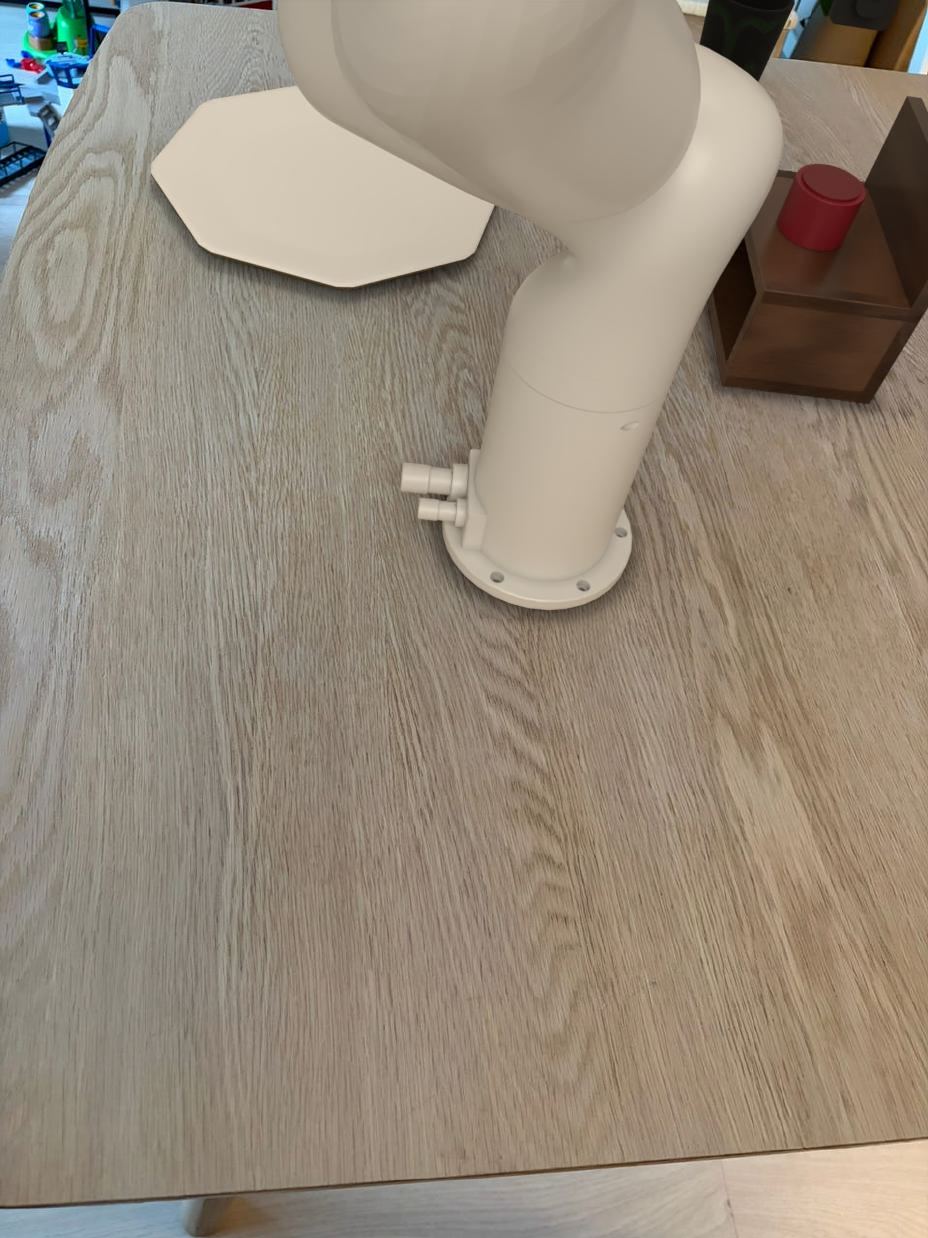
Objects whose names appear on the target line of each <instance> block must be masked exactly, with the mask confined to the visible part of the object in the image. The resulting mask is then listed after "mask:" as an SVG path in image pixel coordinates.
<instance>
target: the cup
mask: <svg viewBox="0 0 928 1238" xmlns="http://www.w3.org/2000/svg"><path fill="white" fill-rule="evenodd" d="M795 4H796V0H708V3H707V7H706V13H705V16H704V21H703V25H702V30H701V35H700V39H699V43H698V44H700V45H702V46H704V47H706V48H709V49H710V50H712V51H714V52H716V53H718V54H719V55H721V56H723V57H725V58H727V59H728V60H730V61H732V62H733V63H734V64H736V65H737V66H739V67H740V68H741V69H743V70H744V71H746V72H747V73H748V74H750V75H751V76H752V77H753V78H754V79H755V80H756V81H757V82H758V83H759V82H760V79H761V78H762V76H763V74H764V71H765V69H766V67H767V65H768V63H769V60H770V59H771V56H772V54H773V52H774V50H775V47H776V46H777V43H778V41H779V39H780V37H781V34H782V32H783V31H784V29H785V28H784V27H786V24H787V22H788V19H789V17H790V15H791V13H792V11H793V9H794V7H795Z"/></svg>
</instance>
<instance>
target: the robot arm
mask: <svg viewBox="0 0 928 1238" xmlns="http://www.w3.org/2000/svg"><path fill="white" fill-rule="evenodd" d="M900 3H901V0H833V1H832V3H831V6H830V9H829V11H828V16H829V19H830V21H831V23H832V24H834V25H839V26H844V27H852V28H858V29H863V30H864V29H866V30H871V31H878V32H883V31H885V30H886V29H887V28H889V26H890V24H891V22H892V20H893V18H894V16H895V13H896V11H897V9H898V6H899V5H900ZM276 8H277V25H278V32H279V38H280V44H281V47H282V52H283V55H284V58H285V62H286V64H287V68H288V70H289V72H290V74H291V77H292V78H293V81H294V83H295V84H296V85H297V86H298V88H299V90H300V91H301V93H302V94H303V96H304V97H305V98H306V100H307V101H308V102H309V103H310V104H311V105H312V107H313V108H314V109H315V110H317V111H318V112H319V113H320V114H321V115H322V116H324V117H325V118H326V119H328V120H329V121H331V122H333V123H334V124H336V125H338V126H340V127H342V128H344V129H345V130H347V131H349V132H351V133H353V134H355V135H357V136H359V137H360V138H362V139H364V140H366V141H368V142H370V143H372V144H374V145H375V146H377V147H379V148H381V149H383V150H385V151H387V152H389V153H390V154H392V155H394V156H396V157H398V158H400V159H402V160H404V161H406V162H408V163H410V164H412V165H413V166H415V167H417V168H419V169H421V170H423V171H425V172H427V173H429V174H430V175H432V176H434V177H436V178H438V179H440V180H442V181H444V182H446V183H448V184H450V185H452V186H454V187H456V188H458V189H460V190H462V191H464V192H466V193H468V194H470V195H472V196H475V197H477V198H479V199H482V200H484V201H486V202H489V203H491V204H494V205H495V207H498V208H501V209H503V210H506V211H508V212H511V213H514V214H515V215H517V216H519V217H520V218H523V219H524V220H527V221H528V222H531V223H532V225H534V227H537V228H539V229H541V230H542V231H545V232H546V233H548V234H550V235H552V236H553V237H555V238H556V239H558V240H559V241H560V243H562V244H564V246H565V248H564V249H562V250H560V251H558V252H557V253H555V254H553V255H552V256H551V257H549V258H548V259H546V260H544V261H543V262H542V263H541V264H540V265H539V266H537V267H536V268H535V269H534V270H533V271H531V273H530V274H529V275H527V276H526V278H525V279H524V280H523V282H522V283H521V285H520V286H519V287H518V289H517V290H516V291H515V294H514V295H513V298H512V301H511V303H510V306H509V309H508V311H507V316H506V321H505V325H504V330H503V336H502V343H501V347H500V353H499V358H498V362H497V367H496V373H495V377H494V382H493V387H492V391H491V397H490V401H489V406H488V411H487V416H486V421H485V426H484V430H483V435H482V439H481V443H480V444H481V445H480V448H478V449H477V448H471V449H470V450H469V454H468V458H467V459H468V460H467V463H457V462H452V464H451V468H448V467H440V466H431V464H427V463H419V462H410V461H403V462H402V469H401V478H400V487H399V488H400V489H399V492H401V493H411V494H422V495H428V494H433V495H435V494H436V495H443V496H447V498H446V500H440V499H436V498H428V497H419V498H418V502H417V514H416V519H417V520H422V521H423V520H425V521H432V522H433V521H434V522H437V521H441V529H442V531H441V533H442V538H443V542H444V545H445V548H446V550H447V552H448V554H449V556H450V559H451V560H452V562H453V563H454V564H455V565H456V567H457V568H458V570H459V571H460V572H461V573H462V574H463V576H464V577H466V578H467V579H468V580H469V581H470V582H472V583H473V585H475V586H476V587H477V588H479V589H481V590H482V591H484V592H485V593H487V594H489V595H490V596H492V597H493V598H496V599H498V600H501V601H503V602H506V603H508V604H511V605H515V606H519V607H522V608H526V609H533V610H534V609H535V610H543V611H544V610H545V611H552V610H553V611H555V610H567V609H572V608H576V607H581V606H583V605H586V604H589V603H590V602H592V601H595V600H597V599H599V598H600V597H602V596H603V595H605V594H606V593H607V592H609V591H610V590H611V589H612V588H613V587H614V586H615V585H616V583H617V582H618V581H619V580H620V579H621V577H622V575H623V573H624V572H625V569H626V567H627V565H628V562H629V559H630V557H631V553H632V548H633V533H632V526H631V522H630V520H629V517H628V515H627V512H626V510H625V508H624V506H625V504H626V501H627V499H628V496H629V493H630V491H631V489H632V486H633V483H634V481H635V478H636V475H637V473H638V470H639V468H640V465H641V462H642V460H643V458H644V455H645V452H646V451H647V448H648V444H649V442H650V440H651V437H652V434H653V432H654V429H655V427H656V424H657V421H658V420H659V417H660V414H661V411H662V409H663V406H664V404H665V401H666V398H667V396H668V393H669V391H670V389H671V385H672V383H673V381H674V379H675V377H676V374H677V372H678V371H677V370H678V369H679V367H680V363H681V361H682V358H683V356H684V354H685V351H686V349H687V346H688V344H689V342H690V339H691V337H692V334H693V333H694V330H695V328H696V325H697V323H698V320H699V319H700V317H701V315H702V313H703V311H704V308H705V306H706V304H707V300H708V298H709V296H710V294H711V292H712V291H713V289H714V287H715V285H716V283H717V281H718V279H719V277H720V276H721V274H722V272H723V271H724V269H725V267H726V266H727V264H728V262H729V260H730V259H731V257H732V255H733V254H734V252H735V250H736V249H737V247H738V245H739V244H740V242H741V241H742V239H743V237H744V236H745V234H746V232H747V231H748V229H749V227H750V226H751V224H752V222H753V221H754V219H755V217H756V216H757V214H758V212H759V211H760V209H761V207H762V205H763V203H764V201H765V199H766V197H767V195H768V193H769V191H770V189H771V187H772V184H773V182H774V179H775V177H776V174H777V172H778V169H779V168H780V166H781V162H782V157H783V151H784V127H783V123H782V119H781V115H780V112H779V111H778V107H777V106H776V103H775V102H774V100H773V98H772V97H771V96H770V94H769V93H768V91H767V90H766V89H765V88H764V87H763V86H762V85H761V84H760V83H759V82H757V81H756V80H755V79H754V78H753V77H752V76H751V75H750V74H748V73H747V72H746V71H744V70H743V69H741V68H740V67H739V66H737V65H736V64H734V63H733V62H732V61H730V60H728V59H727V58H725V57H723V56H721V55H719V54H718V53H716V52H714V51H712V50H710V49H709V48H706V47H704V46H702V45H700V44H699V43H698V42H695V40H694V36H693V34H692V31H691V29H690V26H689V24H688V21H687V18H686V17H685V14H684V12H683V10H682V7H681V6H680V4H679V2H678V0H276ZM296 85H295V86H296ZM779 170H780V169H779Z"/></svg>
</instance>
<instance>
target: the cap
mask: <svg viewBox="0 0 928 1238" xmlns="http://www.w3.org/2000/svg"><path fill="white" fill-rule="evenodd" d="M796 172H797V173H796V176H795V178H794V180H793V183H792V185H791V187H790V190H789V192H788V194H787V197H786V199H785V201H784V204H783V206H782V208H781V211H780V213H779V215H778V218H777V226H778V229H779V230H780V232H781V233H782V234H783V235H784V236H785V237H786V238H787V239H788V240H790V241H791V242H793V243H794V244H796V245H798V246H801V247H803V248H806V249H810V250H815V251H830V250H834V249H836V248H838V247H839V246H841V245H842V243H843V241H844V239H845V237H846V235H847V233H848V231H849V229H850V227H851V225H852V223H853V221H854V219H855V217H856V215H857V213H858V211H859V209H860V207H861V205H862V203H863V201H864V199H865V197H866V190H865V187H864V186H863V184H862V183H861V182H860V181H861V180H860V179H859V178H857V177H856V175H854V174H852V173H851V172H849V171H847V170H845V169H843V168H840V167H838V166H836V165H832V164H825V163H810V164H806V165H803V166H801V167H800V168H799V169H798V170H797V171H796Z"/></svg>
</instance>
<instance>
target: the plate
mask: <svg viewBox="0 0 928 1238" xmlns="http://www.w3.org/2000/svg"><path fill="white" fill-rule="evenodd" d="M163 147H164V148H163V149H162V150H161V151H160V152H159V153H158V155H156V157H155V158H154V159H153V161H151V163H150V175H151V177H152V179H153V180H154V182H155V184H156V185H157V186H158V188H159V189H160V191H161V192H162V193H163V195H164V197H165V198H166V199H167V200H166V201H168V203H169V205H171V207H172V209H173V210H174V211H175V213H176V214H177V216H178V218H179V219H180V221H181V222H182V224H183V225H184V227H185V228H186V229H187V231H188V232H189V234H190V235H191V237H192V238H193V240H194V241H195V243H196V244H197V246H198V247H199V248H201V249H202V250H204V251H205V252H207V253H209V254H210V255H212V256H214V257H215V256H216V257H218V258H223V259H226V260H230V261H233V262H236V263H240V264H243V265H248V266H251V267H255V268H258V269H261V270H264V271H265V270H266V271H269V272H272V273H276V274H280V275H284V276H286V277H287V276H288V277H290V278H295V279H298V280H302V281H305V282H309V283H313V284H315V285H320V286H323V287H326V288H327V287H328V288H330V289H335V290H356V289H360V288H364V287H367V286H372V285H377V284H379V283H384V282H387V281H392V280H396V279H399V278H403V277H408V276H412V275H415V274H416V275H417V274H420V273H424V272H426V271H428V272H429V271H433V270H436V269H439V268H443V267H447V266H451V265H455V264H459V263H464V262H466V261H467V260H469V259H470V258H471V257H472V256H474V255H475V253H476V252H477V250H478V247H479V244H480V242H481V240H482V237H483V235H484V233H485V230H486V228H487V225H488V223H489V221H490V218H491V216H492V213H493V211H494V209H495V207H496V205H494V204H491V203H489V202H486V201H484V200H482V199H479V198H477V197H475V196H472V195H470V194H468V193H466V192H464V191H462V190H460V189H458V188H456V187H454V186H452V185H450V184H448V183H446V182H444V181H442V180H440V179H438V178H436V177H434V176H432V175H430V174H429V173H427V172H425V171H423V170H421V169H419V168H417V167H415V166H413V165H412V164H410V163H408V162H406V161H404V160H402V159H400V158H398V157H396V156H394V155H392V154H390V153H389V152H387V151H385V150H383V149H381V148H379V147H377V146H375V145H374V144H372V143H370V142H368V141H366V140H364V139H362V138H360V137H359V136H357V135H355V134H353V133H351V132H349V131H347V130H345V129H344V128H342V127H340V126H338V125H336V124H334V123H333V122H331V121H329V120H328V119H326V118H325V117H324V116H322V115H321V114H320V113H319V112H318V111H317V110H315V109H314V108H313V107H312V105H311V104H310V103H309V102H308V101H307V100H306V98H305V97H304V96H303V94H302V93H301V91H300V90H299V88H298V86H297V85H291V86H283V87H278V88H272V89H266V90H259V91H255V92H254V91H253V92H247V93H242V94H241V93H240V94H235V95H229V96H222V97H217V98H211V99H209V100H207V101H205V102H203V103H201V104H199V105H198V106H197V108H196V109H194V111H193V112H192V114H191V115H190V116H189V117H188V119H187V120H186V121H185V122H184V123H183V124H182V126H181V127H180V128H179V129H178V131H177V132H176V133H175V134H174V135H173V137H172V138H171V139H170V140H169V141H168V142H167V144H165V146H163Z"/></svg>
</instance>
